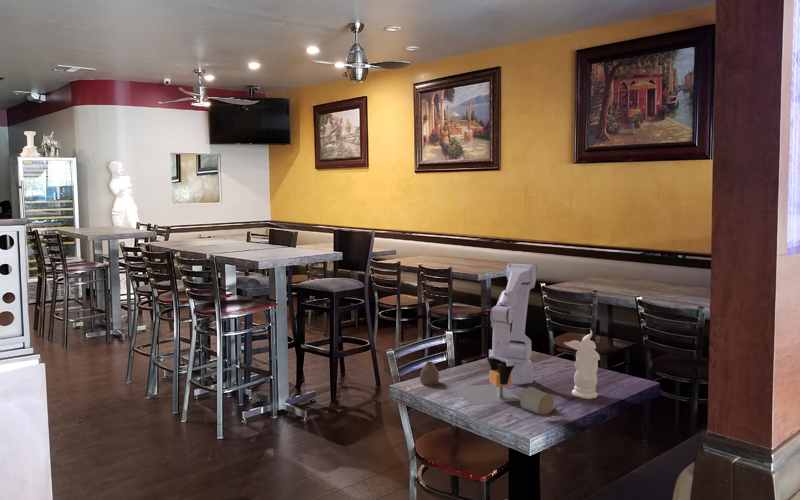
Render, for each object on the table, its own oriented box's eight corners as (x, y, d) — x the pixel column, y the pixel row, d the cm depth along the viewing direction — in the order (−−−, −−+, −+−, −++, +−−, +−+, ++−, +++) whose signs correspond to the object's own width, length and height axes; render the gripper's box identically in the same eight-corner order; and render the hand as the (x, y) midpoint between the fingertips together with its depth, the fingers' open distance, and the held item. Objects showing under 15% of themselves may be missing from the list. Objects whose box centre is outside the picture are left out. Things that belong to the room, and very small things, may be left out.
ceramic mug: (539, 419, 190) (540, 395, 190) (519, 412, 197) (520, 388, 196) (561, 413, 197) (562, 389, 196) (540, 405, 203) (541, 383, 203)
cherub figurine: (592, 402, 207) (595, 338, 204) (556, 395, 214) (558, 333, 211) (602, 392, 217) (604, 330, 215) (567, 385, 224) (569, 326, 221)
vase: (437, 390, 218) (438, 365, 217) (418, 388, 219) (418, 364, 218) (440, 384, 224) (440, 360, 224) (421, 382, 226) (421, 359, 225)
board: (499, 386, 222) (499, 383, 222) (522, 403, 205) (522, 400, 204) (452, 390, 217) (452, 387, 217) (472, 408, 199) (472, 404, 199)
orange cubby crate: (489, 382, 209) (489, 369, 208) (503, 380, 210) (504, 368, 210) (496, 386, 204) (496, 374, 203) (510, 385, 205) (511, 373, 205)
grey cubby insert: (499, 395, 209) (500, 382, 208) (502, 397, 207) (503, 384, 206) (496, 395, 208) (496, 382, 208) (499, 397, 206) (499, 384, 206)
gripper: (481, 337, 211) (480, 376, 213) (499, 347, 198) (498, 389, 199) (499, 336, 213) (498, 374, 215) (519, 346, 200) (518, 387, 201)
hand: (500, 381), depth 207 cm, fingers closed on orange cubby crate, 5 cm apart
